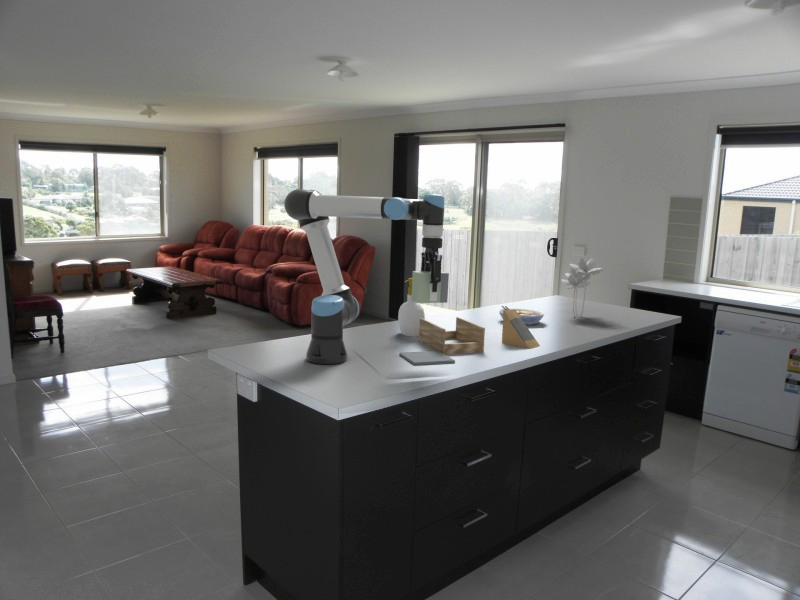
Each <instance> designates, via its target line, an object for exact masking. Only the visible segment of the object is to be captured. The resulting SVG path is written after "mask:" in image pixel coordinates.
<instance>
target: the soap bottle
mask: <svg viewBox="0 0 800 600" xmlns="http://www.w3.org/2000/svg"><path fill="white" fill-rule="evenodd" d="M406 282H408V285H409V287H408V290H407V291H408V293H407V297H406V298H407V301H406V302H403V303H402V304H401V305H400V307H399V309H398V316H397V319H398V321H397V322H398V327H399V331H400V334H401V335H404V336H406V337H411V336H412V337H413V338H417V337H418V336H419V326H420V318H422V319H424V320H426V319H425V317H426V314H425V311H424V308H423V307H422V305H421V303H416V302H414V301H411V298H412V277H409V278H408V279H407V280H405V281H404V283H406ZM418 338H419V337H418Z"/></svg>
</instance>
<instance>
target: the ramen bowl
mask: <svg viewBox="0 0 800 600" xmlns="http://www.w3.org/2000/svg"><path fill="white" fill-rule="evenodd" d="M512 309H515V310H516V311H517V313H518V314H519V316H520V317H521V319H522V320H523V322H524V323H525V325H526V326H531V325H532V326H533V324H534V325H536V324H538V323H539V322H540V321H541V320H542V319H543V318H544V315H545V312H544V311H540V310H536V309H530V308H529V309H528V308H517V307H516V308H513V307H511V308H509V307H508V306H507V305H505V306H504V305H501V309H498V312H499V316H500V317H501V318H502V319H503V312H504V310H512Z"/></svg>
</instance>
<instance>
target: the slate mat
mask: <svg viewBox="0 0 800 600" xmlns="http://www.w3.org/2000/svg"><path fill="white" fill-rule="evenodd" d="M399 356H400V357H401V358H403V359H405V360H406V361H408V362H409V363H411V365H413V366H422V365H423V366H424V365H425V366H426V365H427V366H428V365H443V364H444V365H445V364H455V363H456V359H454V358H451V357H450V356H448V355H447V354H443V353H441V352H439V351H436V350H425V351H424V350H423V351H406V352H405V351H404V352H401V351H399Z"/></svg>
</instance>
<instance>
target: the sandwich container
mask: <svg viewBox="0 0 800 600" xmlns="http://www.w3.org/2000/svg"><path fill="white" fill-rule="evenodd" d="M501 335H502V336H501V343H502V344H507V345H511V346H514V347H519V348H523V349H528V350H532V349H535V348H538V347H541V345H540V344H539V342H538V340H537V339H536V338H535V336H534V334H532V332H531V331H530V330H529V327H528V325H525V323H524V322H523V320H522V319H521V317H520V316H519V314H518V313H517V311H516V310H515V309H512V310H504V312H503V318H502V333H501Z"/></svg>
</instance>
